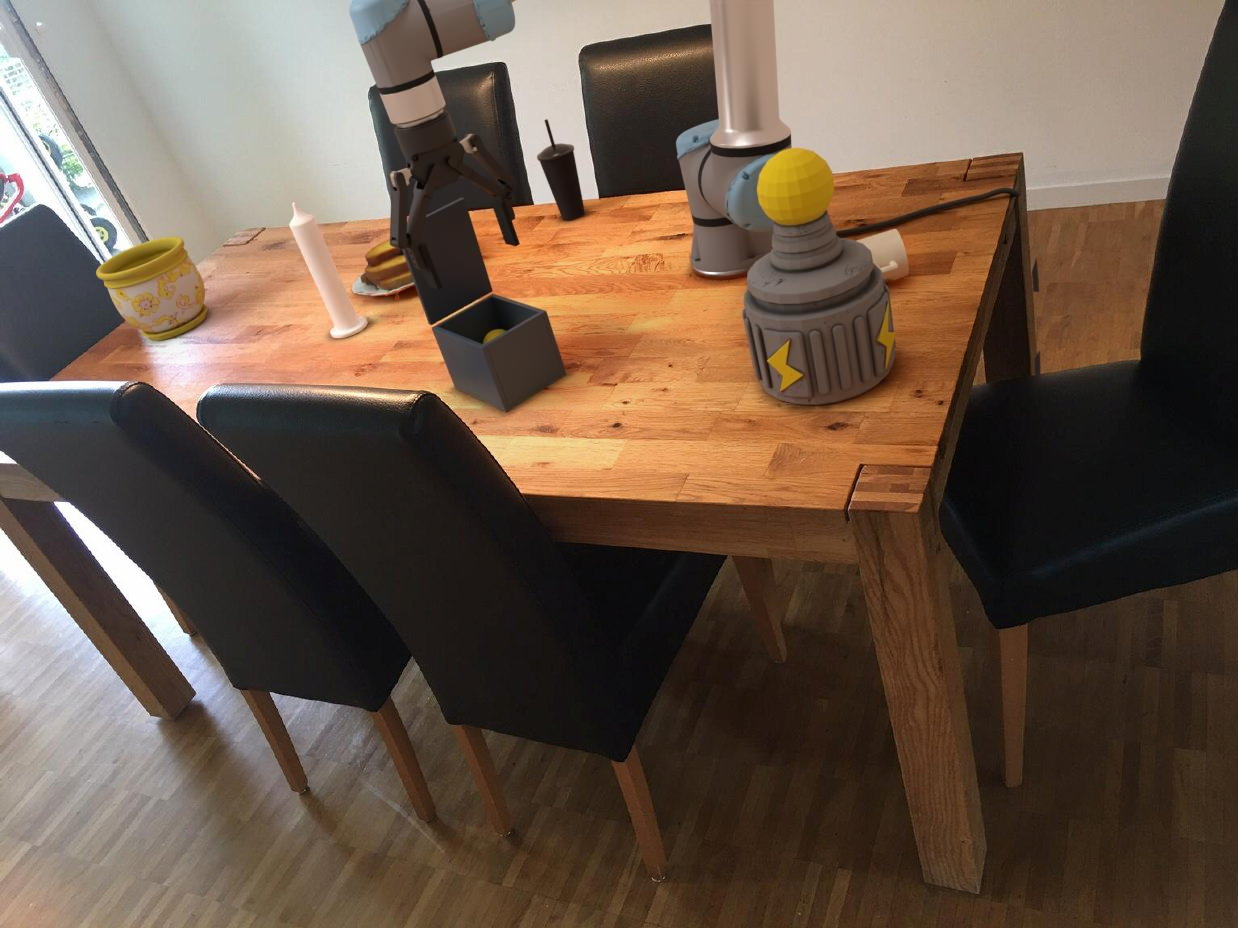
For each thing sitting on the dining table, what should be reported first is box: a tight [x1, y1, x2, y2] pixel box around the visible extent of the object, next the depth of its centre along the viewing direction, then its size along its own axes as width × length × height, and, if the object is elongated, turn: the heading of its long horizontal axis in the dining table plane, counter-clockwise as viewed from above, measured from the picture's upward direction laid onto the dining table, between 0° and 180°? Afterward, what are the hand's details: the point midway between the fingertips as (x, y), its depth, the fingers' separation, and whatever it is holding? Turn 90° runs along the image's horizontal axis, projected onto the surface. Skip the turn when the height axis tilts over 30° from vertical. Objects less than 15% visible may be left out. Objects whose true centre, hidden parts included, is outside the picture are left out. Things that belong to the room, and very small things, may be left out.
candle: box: [288, 202, 368, 339], centre depth 184 cm, size 7×7×25 cm
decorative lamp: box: [741, 147, 897, 406], centre depth 127 cm, size 19×19×30 cm
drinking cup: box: [536, 118, 586, 222], centre depth 205 cm, size 8×8×20 cm
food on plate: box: [350, 238, 415, 304], centre depth 204 cm, size 25×25×7 cm
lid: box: [402, 197, 494, 326], centre depth 151 cm, size 15×12×1 cm
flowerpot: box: [95, 236, 208, 341], centre depth 213 cm, size 18×18×16 cm
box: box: [431, 293, 568, 413], centre depth 153 cm, size 15×12×11 cm
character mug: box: [856, 228, 910, 283], centre depth 150 cm, size 11×7×13 cm
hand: (475, 265), depth 144 cm, fingers open, 13 cm apart
